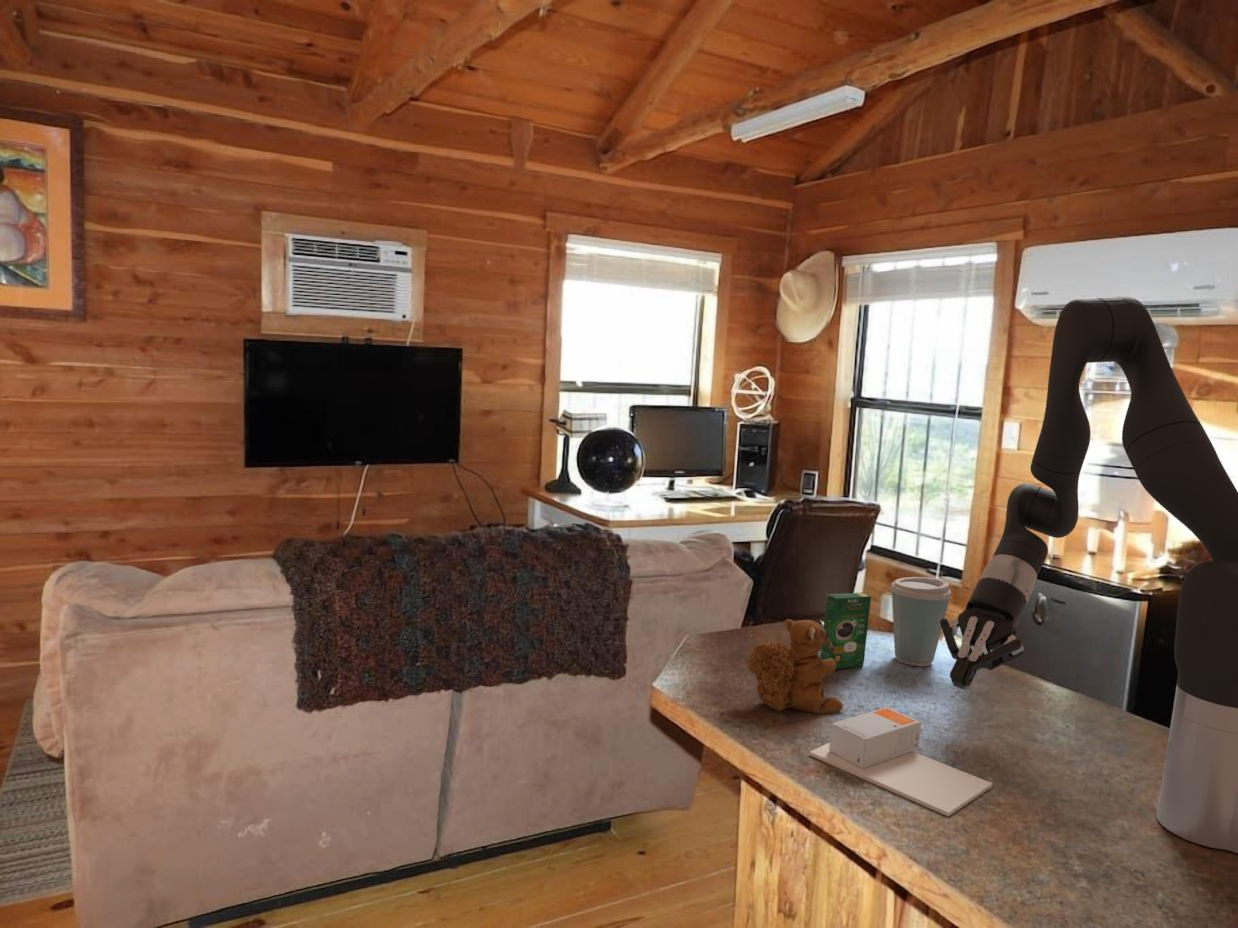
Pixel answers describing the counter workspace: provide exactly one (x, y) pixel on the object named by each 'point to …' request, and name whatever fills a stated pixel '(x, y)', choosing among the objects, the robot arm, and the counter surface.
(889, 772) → the flat beige rectangular board
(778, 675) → the stuffed squirrel
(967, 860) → the counter surface
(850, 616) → the coffee box
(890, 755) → the skincare box
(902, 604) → the disposable coffee cup
